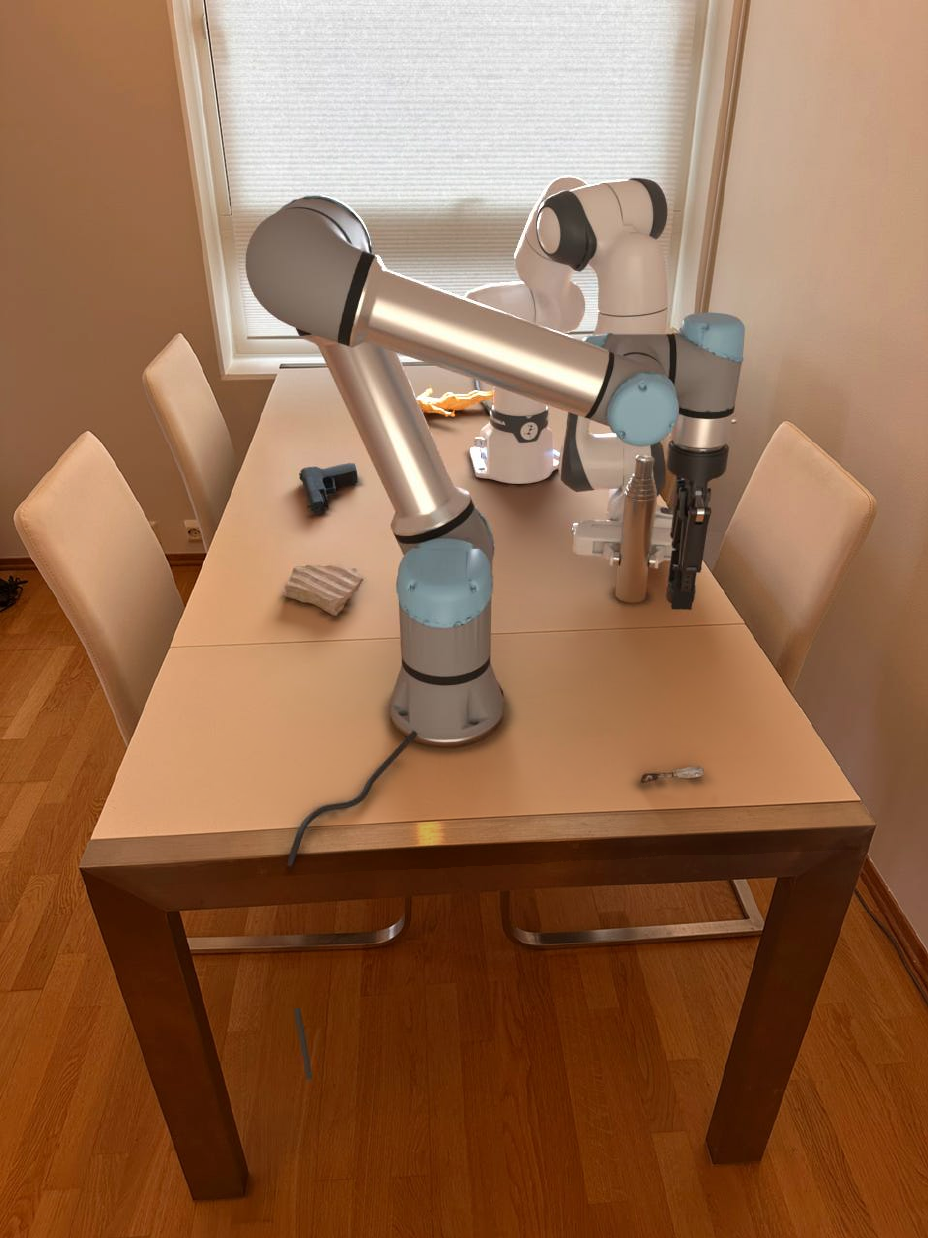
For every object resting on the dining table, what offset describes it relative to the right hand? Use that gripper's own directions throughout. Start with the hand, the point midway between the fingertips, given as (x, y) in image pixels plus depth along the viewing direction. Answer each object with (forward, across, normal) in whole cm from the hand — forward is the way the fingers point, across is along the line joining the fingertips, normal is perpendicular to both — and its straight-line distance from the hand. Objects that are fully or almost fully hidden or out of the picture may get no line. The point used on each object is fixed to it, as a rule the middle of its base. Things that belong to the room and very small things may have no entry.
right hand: (634, 563), depth 143 cm
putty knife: (+44, +4, +7) cm, 45 cm away
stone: (+6, -50, +6) cm, 51 cm away
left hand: (+17, +6, -4) cm, 19 cm away
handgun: (-34, -60, +6) cm, 69 cm away
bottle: (-1, 0, +6) cm, 7 cm away
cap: (+17, +6, -6) cm, 19 cm away
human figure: (-88, -44, +6) cm, 99 cm away
